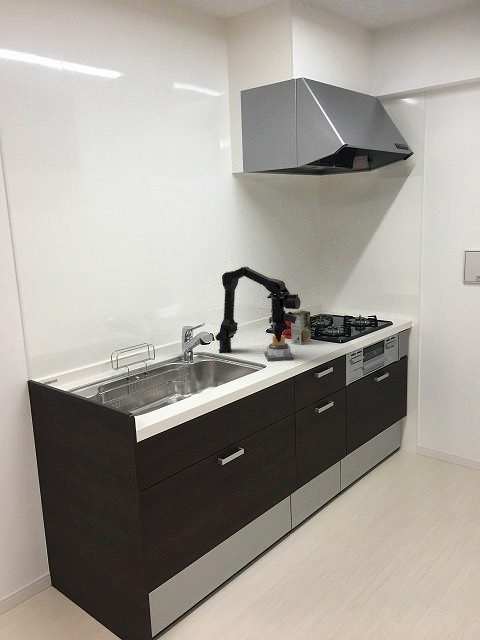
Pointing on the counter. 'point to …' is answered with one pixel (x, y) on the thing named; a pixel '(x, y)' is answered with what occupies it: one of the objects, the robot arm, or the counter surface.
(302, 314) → the coffee box
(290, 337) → the plant pot
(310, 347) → the counter surface
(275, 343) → the disc with orange block
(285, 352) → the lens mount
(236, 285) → the robot arm
